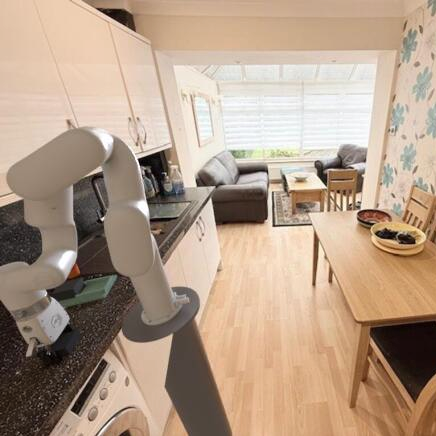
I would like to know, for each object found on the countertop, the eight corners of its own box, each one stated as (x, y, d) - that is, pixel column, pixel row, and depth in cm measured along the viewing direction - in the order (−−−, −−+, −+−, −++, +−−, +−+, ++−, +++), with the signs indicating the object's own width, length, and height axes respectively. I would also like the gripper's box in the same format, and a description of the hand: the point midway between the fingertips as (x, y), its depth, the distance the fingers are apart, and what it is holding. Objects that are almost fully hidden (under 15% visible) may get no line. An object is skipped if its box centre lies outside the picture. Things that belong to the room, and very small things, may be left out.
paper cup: (61, 275, 107) (45, 249, 101) (82, 267, 112) (68, 242, 106) (61, 283, 102) (44, 256, 96) (83, 275, 106) (69, 248, 100)
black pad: (82, 338, 76) (76, 330, 74) (72, 357, 70) (65, 348, 68) (57, 345, 74) (51, 336, 72) (45, 364, 68) (38, 355, 67)
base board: (117, 276, 104) (112, 267, 102) (105, 298, 92) (100, 288, 90) (65, 287, 99) (60, 277, 97) (46, 312, 87) (39, 301, 85)
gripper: (27, 326, 57) (61, 371, 65) (65, 281, 72) (88, 322, 80) (-13, 335, 55) (27, 380, 63) (35, 287, 70) (62, 328, 78)
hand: (61, 347), depth 71 cm, fingers open, 8 cm apart
